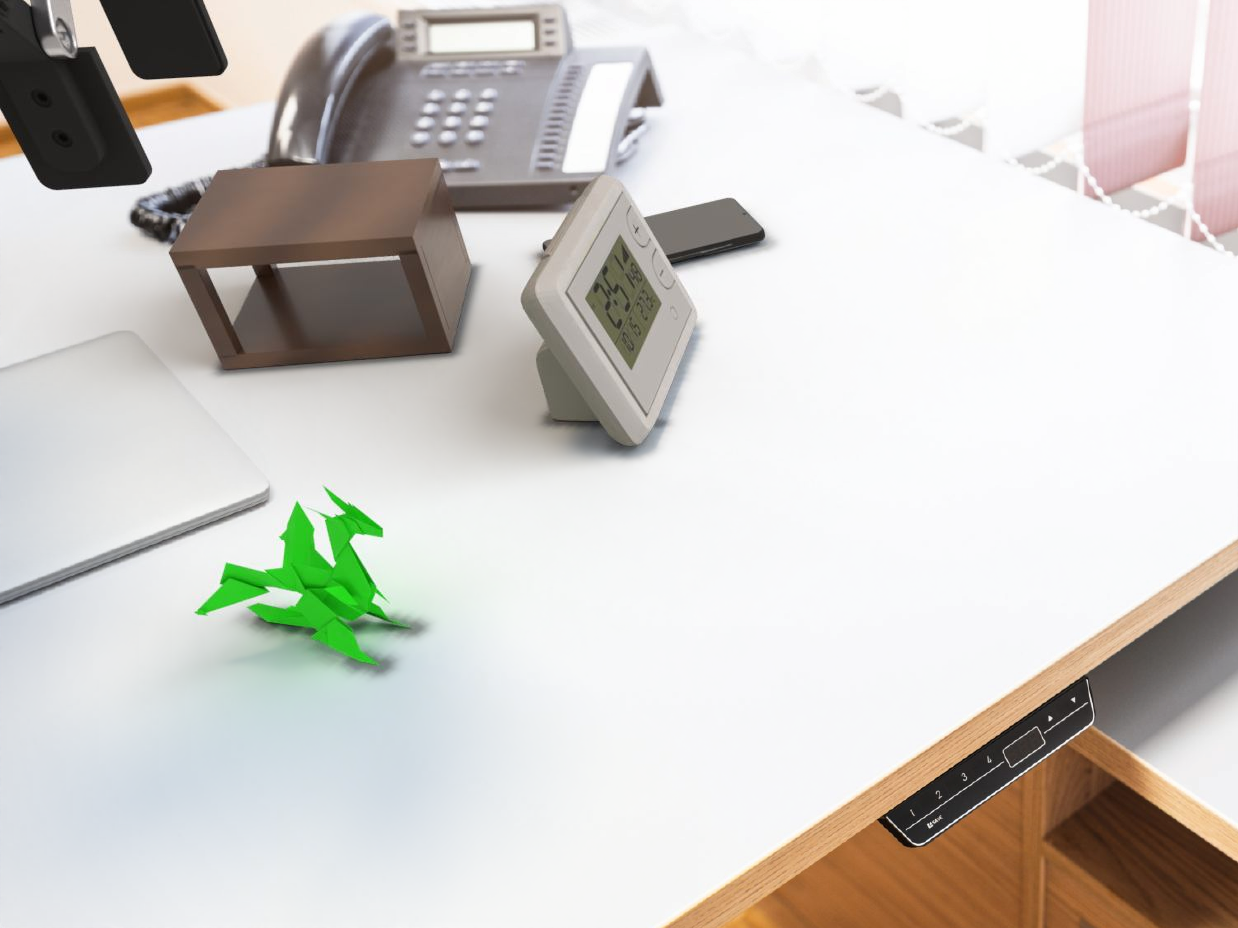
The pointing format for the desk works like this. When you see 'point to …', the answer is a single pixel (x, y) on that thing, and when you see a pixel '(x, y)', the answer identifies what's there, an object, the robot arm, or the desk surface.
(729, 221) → the smartphone
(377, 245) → the stand
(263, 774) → the desk surface
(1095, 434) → the desk surface
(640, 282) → the digital clock
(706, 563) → the desk surface
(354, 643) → the figurine
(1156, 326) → the desk surface
